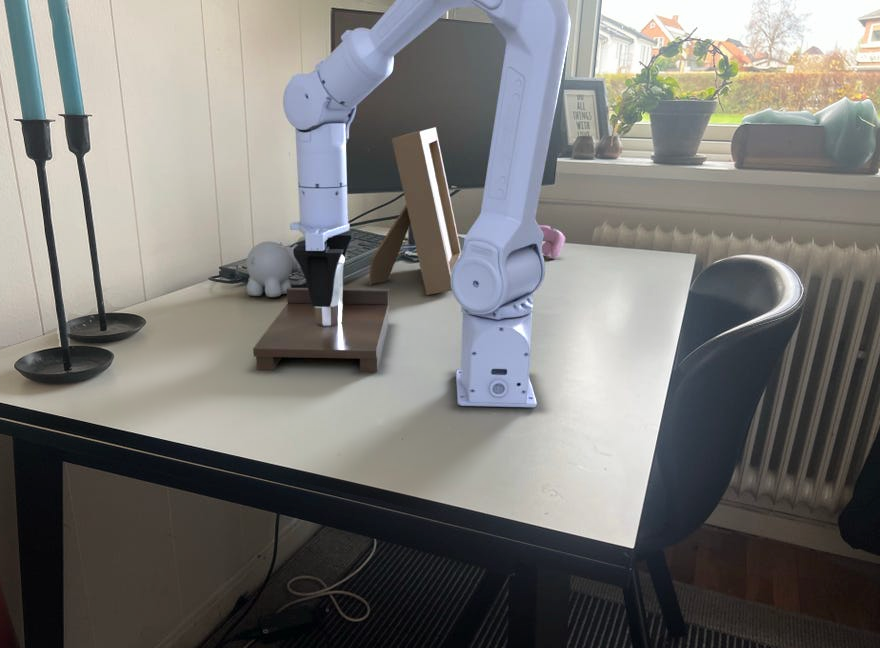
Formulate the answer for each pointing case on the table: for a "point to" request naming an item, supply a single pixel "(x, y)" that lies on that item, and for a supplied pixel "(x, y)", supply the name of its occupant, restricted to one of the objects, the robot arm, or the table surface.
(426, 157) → the photo frame
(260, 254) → the round bodied animal figurine
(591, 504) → the table surface
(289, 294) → the shelf
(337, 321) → the milkshake
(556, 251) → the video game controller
